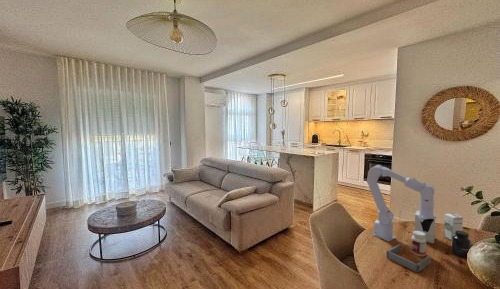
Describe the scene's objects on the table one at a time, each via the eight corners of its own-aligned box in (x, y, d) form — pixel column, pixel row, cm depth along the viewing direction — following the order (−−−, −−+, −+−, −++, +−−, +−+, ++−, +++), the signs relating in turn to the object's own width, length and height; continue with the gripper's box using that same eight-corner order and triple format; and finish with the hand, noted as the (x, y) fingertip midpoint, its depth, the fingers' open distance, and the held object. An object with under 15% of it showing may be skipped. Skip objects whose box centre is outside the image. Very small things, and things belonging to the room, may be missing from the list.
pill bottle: (408, 250, 115) (408, 230, 114) (418, 249, 115) (419, 229, 114) (418, 257, 108) (418, 236, 108) (428, 256, 109) (429, 235, 108)
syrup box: (462, 241, 122) (463, 217, 121) (452, 241, 123) (453, 217, 121) (453, 236, 128) (454, 213, 127) (443, 236, 128) (444, 213, 127)
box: (386, 257, 109) (386, 251, 109) (399, 250, 115) (399, 243, 115) (417, 272, 97) (418, 265, 97) (429, 263, 103) (430, 256, 103)
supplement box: (434, 237, 127) (435, 213, 126) (434, 244, 120) (435, 218, 119) (415, 233, 133) (416, 210, 132) (414, 238, 126) (414, 214, 125)
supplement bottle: (464, 259, 106) (465, 236, 105) (448, 252, 112) (449, 230, 111) (473, 257, 108) (474, 234, 107) (457, 249, 114) (458, 228, 113)
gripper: (429, 212, 107) (428, 238, 108) (441, 206, 114) (440, 230, 115) (413, 208, 113) (412, 232, 114) (425, 202, 120) (424, 225, 121)
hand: (425, 231), depth 115 cm, fingers closed
